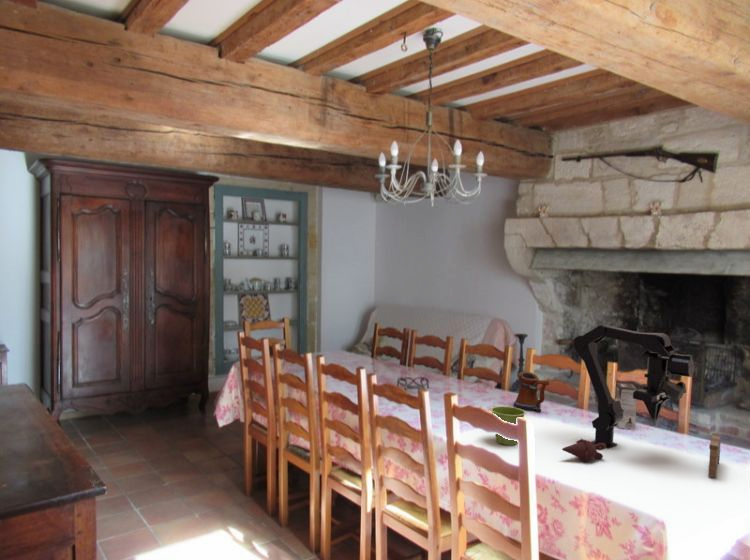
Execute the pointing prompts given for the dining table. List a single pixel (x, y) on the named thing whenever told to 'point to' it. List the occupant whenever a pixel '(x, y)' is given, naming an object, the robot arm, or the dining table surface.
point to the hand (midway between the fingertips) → (654, 418)
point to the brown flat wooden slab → (714, 454)
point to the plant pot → (509, 416)
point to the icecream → (585, 450)
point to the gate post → (719, 448)
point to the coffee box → (626, 404)
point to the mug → (530, 392)
